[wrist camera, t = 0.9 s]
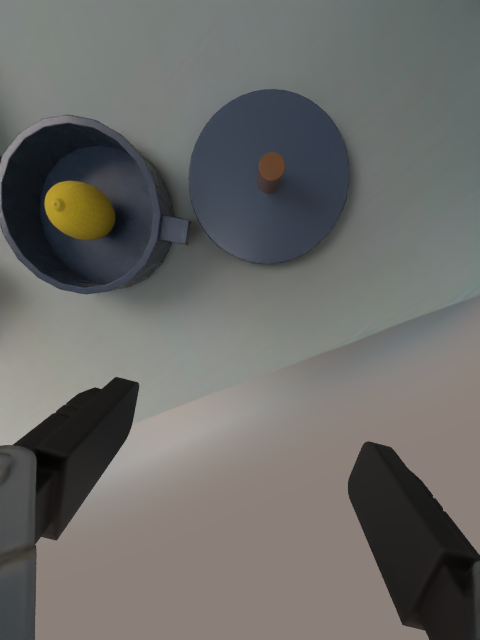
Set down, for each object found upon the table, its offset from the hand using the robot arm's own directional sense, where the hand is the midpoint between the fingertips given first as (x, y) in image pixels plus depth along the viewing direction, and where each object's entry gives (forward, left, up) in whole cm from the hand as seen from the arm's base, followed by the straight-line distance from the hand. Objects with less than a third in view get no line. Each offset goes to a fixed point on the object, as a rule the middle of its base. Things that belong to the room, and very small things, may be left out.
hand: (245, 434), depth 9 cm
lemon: (-7, -19, -25) cm, 32 cm away
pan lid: (-14, -1, -24) cm, 28 cm away
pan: (-7, -19, -25) cm, 32 cm away
